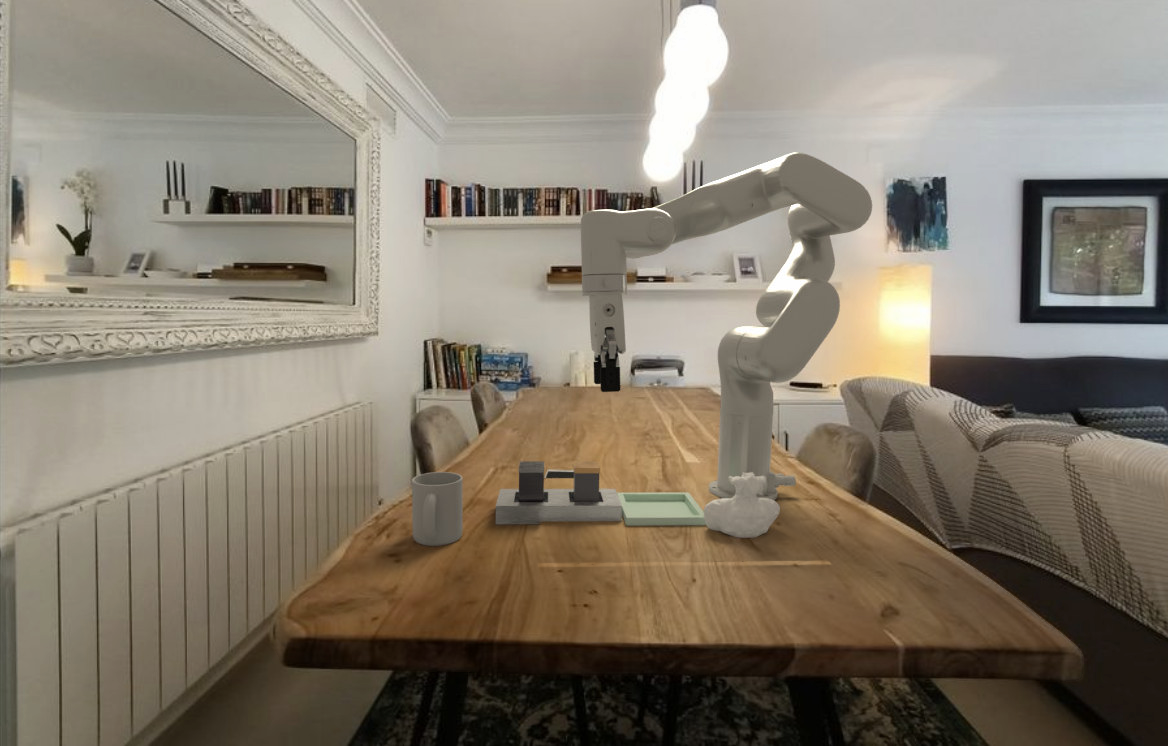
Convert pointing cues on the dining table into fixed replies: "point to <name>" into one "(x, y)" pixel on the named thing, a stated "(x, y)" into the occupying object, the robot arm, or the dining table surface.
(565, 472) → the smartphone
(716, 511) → the white tied sack
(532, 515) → the pdu strip
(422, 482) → the cup
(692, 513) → the tray
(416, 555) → the dining table surface
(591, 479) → the rectangular block
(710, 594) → the dining table surface
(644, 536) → the dining table surface
